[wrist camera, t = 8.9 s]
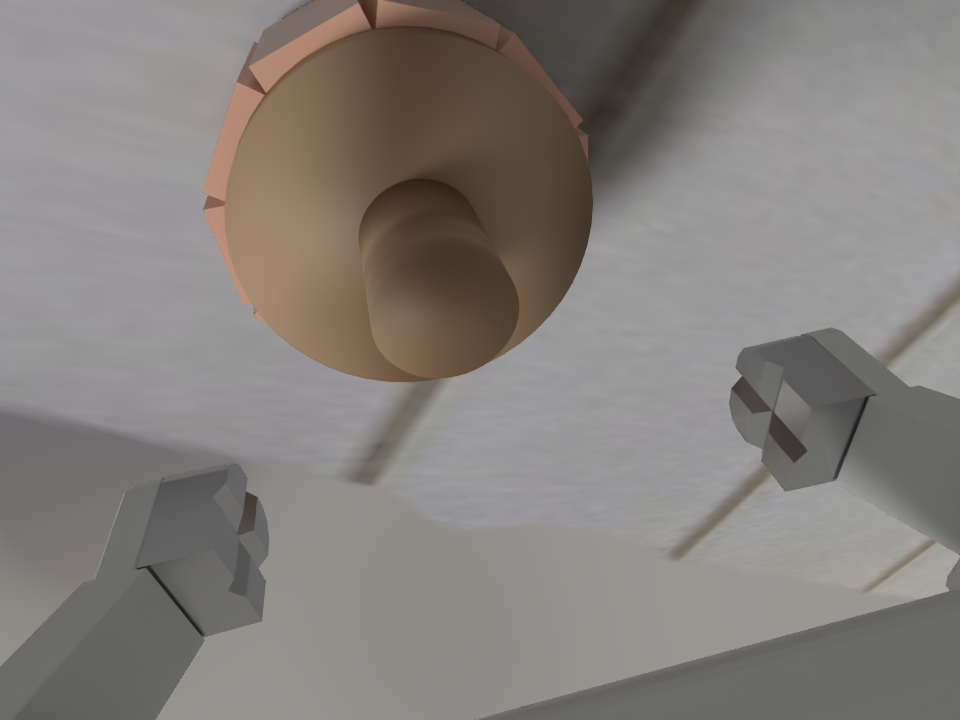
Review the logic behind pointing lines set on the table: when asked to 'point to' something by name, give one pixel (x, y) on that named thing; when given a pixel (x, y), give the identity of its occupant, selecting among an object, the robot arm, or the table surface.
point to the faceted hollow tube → (326, 18)
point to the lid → (407, 205)
